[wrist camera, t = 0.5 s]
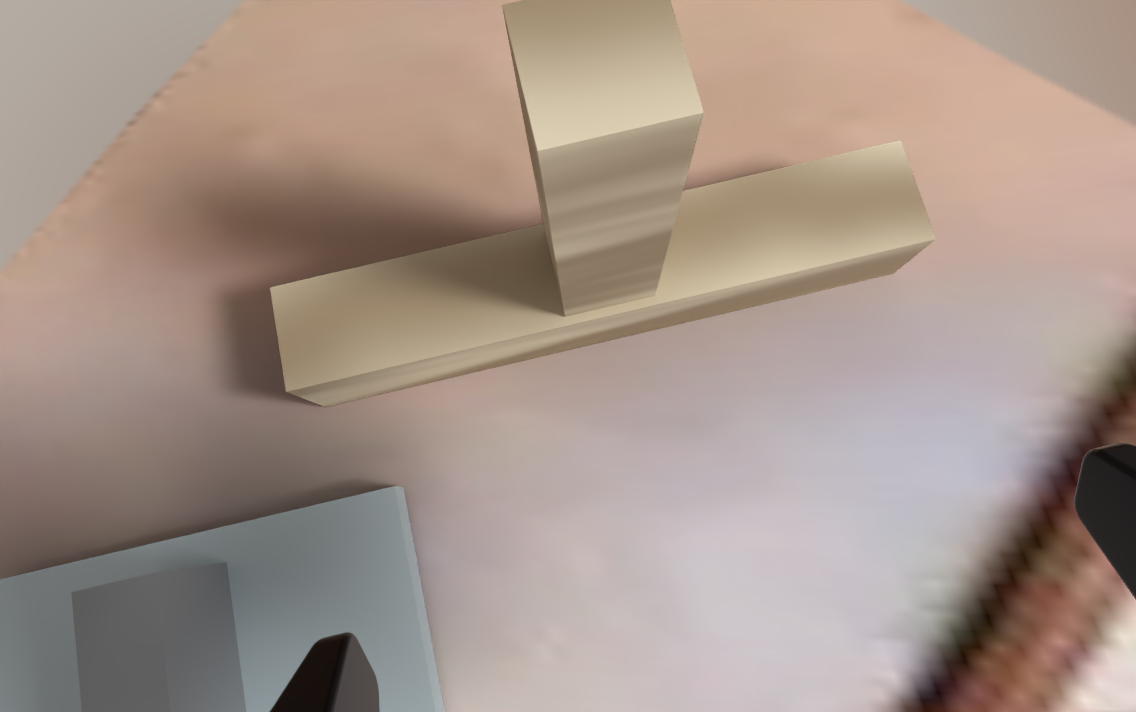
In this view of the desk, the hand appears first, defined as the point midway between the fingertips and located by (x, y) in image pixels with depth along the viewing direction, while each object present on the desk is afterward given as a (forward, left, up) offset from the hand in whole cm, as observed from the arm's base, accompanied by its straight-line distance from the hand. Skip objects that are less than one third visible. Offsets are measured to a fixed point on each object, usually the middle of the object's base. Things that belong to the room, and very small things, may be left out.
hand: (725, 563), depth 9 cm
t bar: (+7, -1, -13) cm, 15 cm away
